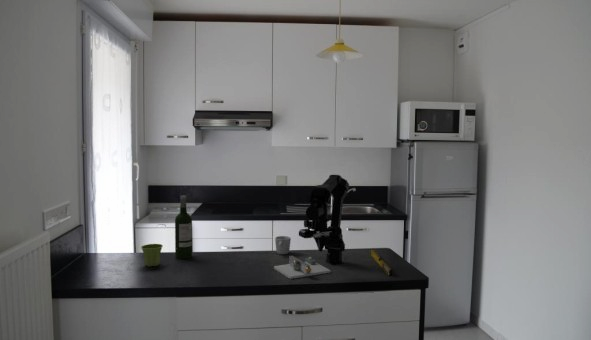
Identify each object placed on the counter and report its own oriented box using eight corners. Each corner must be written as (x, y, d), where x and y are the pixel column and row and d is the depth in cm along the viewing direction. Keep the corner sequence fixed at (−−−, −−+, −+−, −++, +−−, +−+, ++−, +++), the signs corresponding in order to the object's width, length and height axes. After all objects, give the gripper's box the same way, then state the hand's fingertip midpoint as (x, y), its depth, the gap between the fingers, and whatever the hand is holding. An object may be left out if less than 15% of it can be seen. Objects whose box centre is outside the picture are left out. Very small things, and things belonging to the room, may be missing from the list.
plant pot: (136, 266, 191) (136, 247, 191) (151, 260, 200) (150, 242, 199) (153, 269, 188) (153, 249, 187) (167, 263, 197) (167, 244, 196)
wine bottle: (183, 259, 202) (182, 197, 200) (171, 257, 207) (171, 196, 204) (195, 256, 209) (195, 195, 207) (184, 253, 213) (183, 194, 211)
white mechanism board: (311, 262, 201) (311, 254, 201) (330, 272, 186) (330, 264, 186) (273, 268, 191) (273, 259, 191) (290, 279, 177) (290, 270, 177)
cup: (287, 257, 209) (287, 241, 209) (271, 256, 211) (272, 240, 210) (291, 251, 220) (292, 236, 219) (277, 250, 221) (277, 235, 221)
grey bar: (295, 263, 195) (295, 255, 195) (314, 274, 180) (314, 265, 179) (285, 264, 193) (285, 256, 192) (304, 275, 177) (304, 267, 177)
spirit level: (370, 255, 216) (370, 249, 216) (373, 255, 216) (373, 249, 216) (389, 276, 183) (389, 269, 183) (392, 276, 183) (392, 269, 183)
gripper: (329, 211, 193) (328, 244, 195) (292, 214, 185) (292, 249, 186) (342, 215, 184) (342, 250, 185) (305, 218, 175) (304, 255, 176)
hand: (320, 251), depth 183 cm, fingers closed
